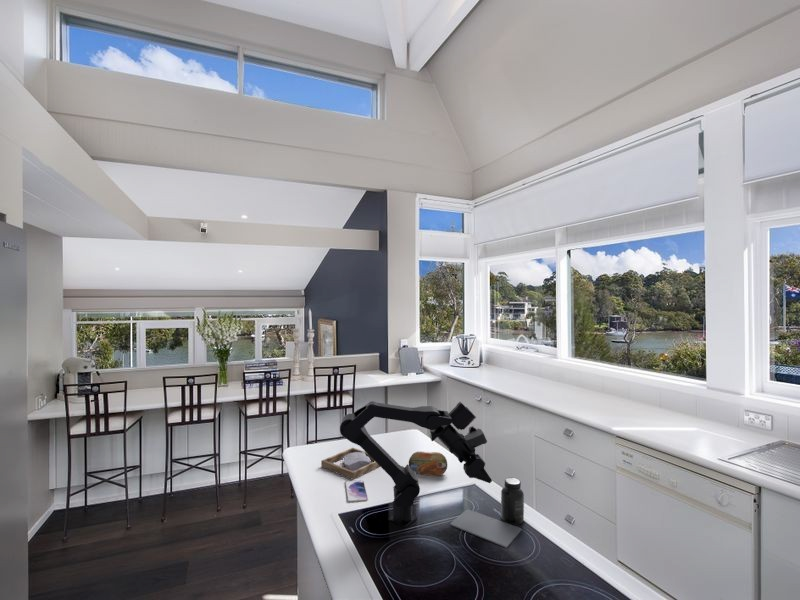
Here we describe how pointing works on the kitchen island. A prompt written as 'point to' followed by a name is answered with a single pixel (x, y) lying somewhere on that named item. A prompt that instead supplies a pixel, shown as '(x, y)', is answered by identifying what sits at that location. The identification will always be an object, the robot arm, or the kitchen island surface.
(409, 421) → the robot arm
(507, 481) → the supplement bottle
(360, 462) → the stone block
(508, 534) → the rubber mat
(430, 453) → the tin
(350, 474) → the walnut tray frame
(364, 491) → the smartphone
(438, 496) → the kitchen island surface
